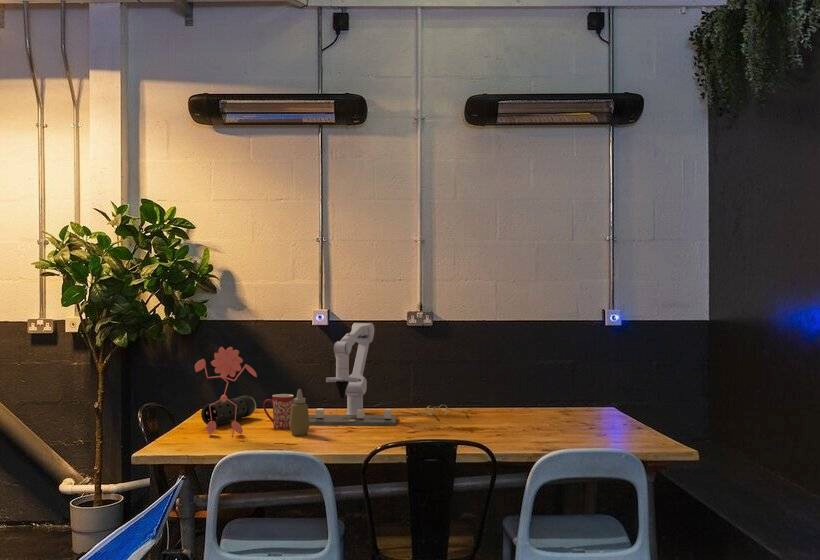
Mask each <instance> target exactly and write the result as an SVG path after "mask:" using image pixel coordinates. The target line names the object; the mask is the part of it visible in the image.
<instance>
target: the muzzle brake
mask: <svg viewBox="0 0 820 560" xmlns="http://www.w3.org/2000/svg"><path fill="white" fill-rule="evenodd" d="M229 400H230V401H231V402H233V403H234V404H236V405H234V404H233V403H231V402H230V401H228V400H227V401H225V402H223V401H221V400H220V401H218V402H216V401H215V402H216V403H215V402H212V403H208V404H205V405H204V406H203V407H202V409H201V413H200V415H201V419H202V421H203V423H205V425H206V426H207V425H208V423H209V422H211V416H212V422H213V421H214V422H215V423H216V427H217V426H222V425H225V424H227V423H228V424H229V423H230V422H233V421H235V411H236V422H238V421H242V420H243V419H244V418H247V417H250V416H252V414H254V412H255V411H256V409H257V404H256V403H257V402H256V400H255V399H254V397H252V396H250V395H241V396H237V397H236V398H230V399H229ZM213 403H215V404H213ZM211 404H213V405H211ZM210 405H211V406H210ZM209 406H210V408H209ZM236 406H237V410H236ZM210 409H211V416H210Z"/></svg>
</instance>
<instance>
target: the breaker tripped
mask: <svg viewBox="0 0 820 560" xmlns="http://www.w3.org/2000/svg"><path fill="white" fill-rule="evenodd" d="M365 411H366V410H365V408H363V409H357V418H364V417H365V415H366V412H365Z"/></svg>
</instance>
